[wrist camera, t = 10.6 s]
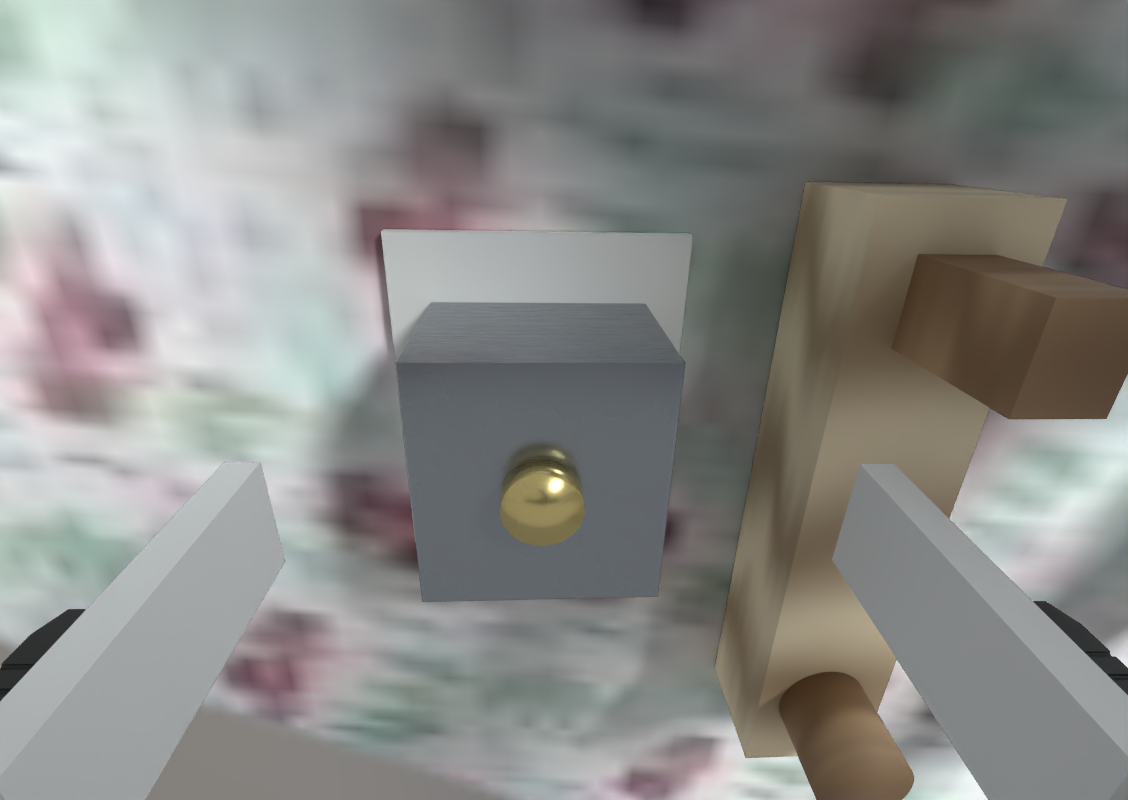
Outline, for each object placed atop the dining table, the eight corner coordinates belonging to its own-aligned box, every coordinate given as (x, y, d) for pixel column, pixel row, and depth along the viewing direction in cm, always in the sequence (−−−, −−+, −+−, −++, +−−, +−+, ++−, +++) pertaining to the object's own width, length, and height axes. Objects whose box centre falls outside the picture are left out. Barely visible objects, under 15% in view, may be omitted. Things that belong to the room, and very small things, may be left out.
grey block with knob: (431, 302, 17) (387, 376, 12) (645, 303, 18) (694, 376, 12) (446, 496, 20) (417, 624, 15) (629, 494, 21) (663, 618, 15)
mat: (384, 229, 17) (381, 231, 16) (689, 233, 17) (692, 235, 17) (417, 534, 21) (415, 541, 21) (656, 530, 22) (658, 537, 21)
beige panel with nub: (805, 182, 17) (1015, 220, 9) (953, 184, 17) (1266, 224, 10) (714, 668, 25) (789, 884, 18) (814, 664, 25) (927, 876, 18)
